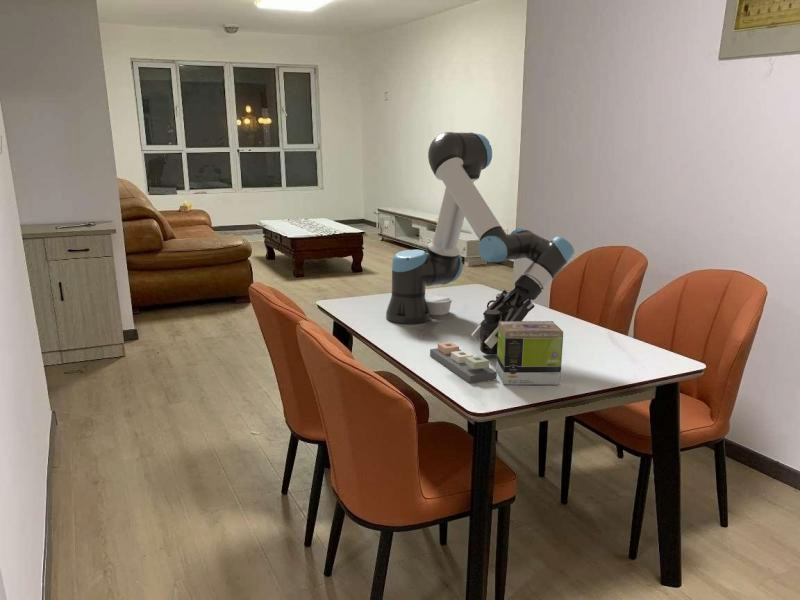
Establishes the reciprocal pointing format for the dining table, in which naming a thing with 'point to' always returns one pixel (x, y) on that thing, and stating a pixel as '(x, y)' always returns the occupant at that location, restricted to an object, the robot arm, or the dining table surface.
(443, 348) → the key
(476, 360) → the key
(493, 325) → the supplement bottle
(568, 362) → the dining table surface
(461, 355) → the key mid
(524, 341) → the tea box
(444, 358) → the board
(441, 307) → the ramekin
